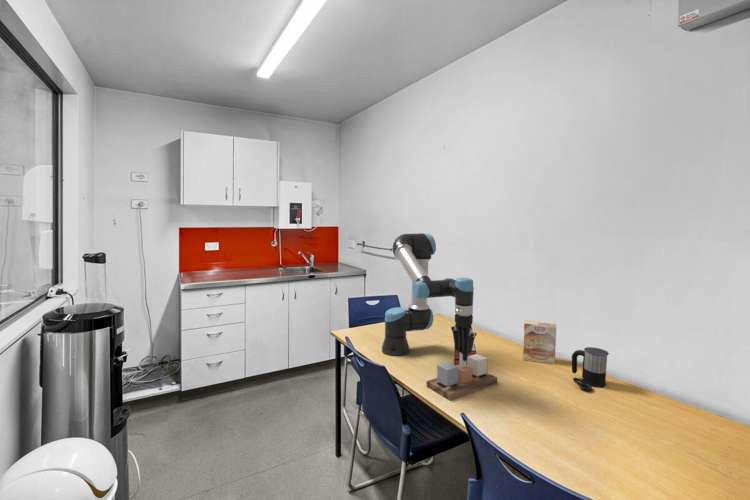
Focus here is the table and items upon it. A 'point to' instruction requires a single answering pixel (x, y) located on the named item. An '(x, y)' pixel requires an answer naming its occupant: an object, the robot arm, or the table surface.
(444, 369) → the slate block
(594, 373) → the milk frother
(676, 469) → the table surface
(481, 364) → the cream block
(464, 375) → the terracotta block
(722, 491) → the table surface
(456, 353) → the puzzle cube
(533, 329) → the coffeecake box
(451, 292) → the robot arm
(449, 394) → the button board
